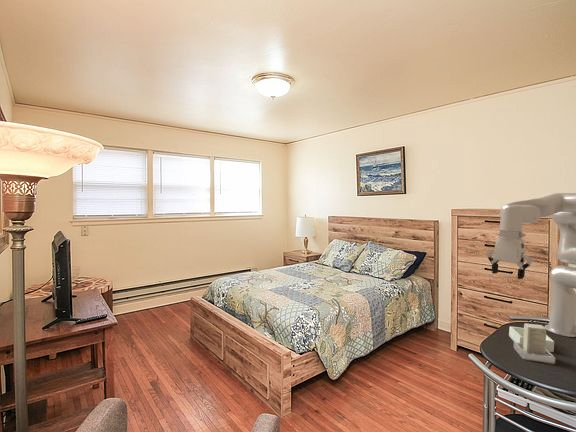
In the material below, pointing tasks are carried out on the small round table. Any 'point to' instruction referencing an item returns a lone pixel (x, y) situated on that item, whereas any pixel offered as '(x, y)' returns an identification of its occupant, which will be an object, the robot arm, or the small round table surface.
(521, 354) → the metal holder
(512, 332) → the sage bin
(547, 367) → the small round table surface
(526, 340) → the skincare box
